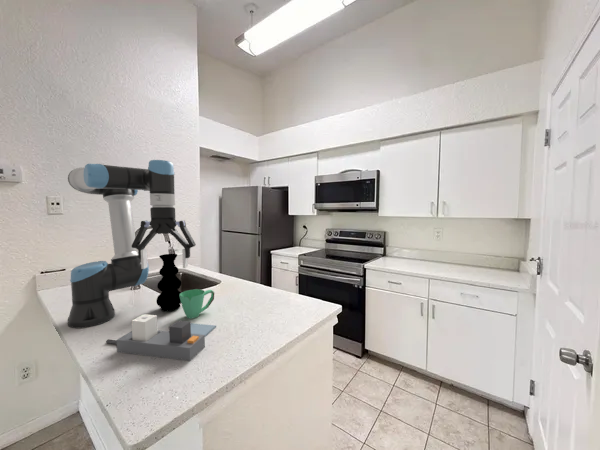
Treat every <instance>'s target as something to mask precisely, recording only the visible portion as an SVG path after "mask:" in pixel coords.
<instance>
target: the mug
mask: <svg viewBox="0 0 600 450" xmlns="http://www.w3.org/2000/svg"><path fill="white" fill-rule="evenodd" d="M208 294H210V298H209V299H208V301H207V303H206V304H205V305H203V304H204V298H205V296H207V295H208ZM179 296H180V300H181V304H180V305H181V307H182V309H183V313H184V315H185V316H186V318H187V319H196V318H198V317H199V316H200V314H202V313H203V312H204V311H205V310H206V309H208V308H209V307H210V306H211V304H212V303H213V301H214V300H215V291H214V290H213V289H208V290H203V289H196V288H195V289H189V290H184V291H181V293H180V295H179Z"/></svg>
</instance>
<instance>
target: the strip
mask: <svg viewBox="0 0 600 450" xmlns="http://www.w3.org/2000/svg"><path fill="white" fill-rule="evenodd" d="M190 323H191V321H186V320H185V321H184V320H177V321H176V322H175V323H173V324H171V325H170V326H168V329H169V330H159V329H157V331H158V334H157V335H155V336H154V337H152V338H151V339H149V340H148V341H146V342H145V341H136V340H133V338H132V331H129V332H128V333H126V334H124V335H123V336H120V337H118V338H117V339H106V340H105V343H106V344H111V345H116V352H117V353H122V354H123V353H124V354H130V355H138V356H139V355H140V356H141V355H142V356H147V357H156V358H164V359H173V360H178V361H179V360H181V361H190V362H191V361H192V360H193V359H194V358H195V357H196V356H197V355H198V354H199V353H200V352H201V351H202V350H204V348H205V347H206V343H205V341H206V340H205V338H206V337H205V335H200V334H191V324H190Z"/></svg>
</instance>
